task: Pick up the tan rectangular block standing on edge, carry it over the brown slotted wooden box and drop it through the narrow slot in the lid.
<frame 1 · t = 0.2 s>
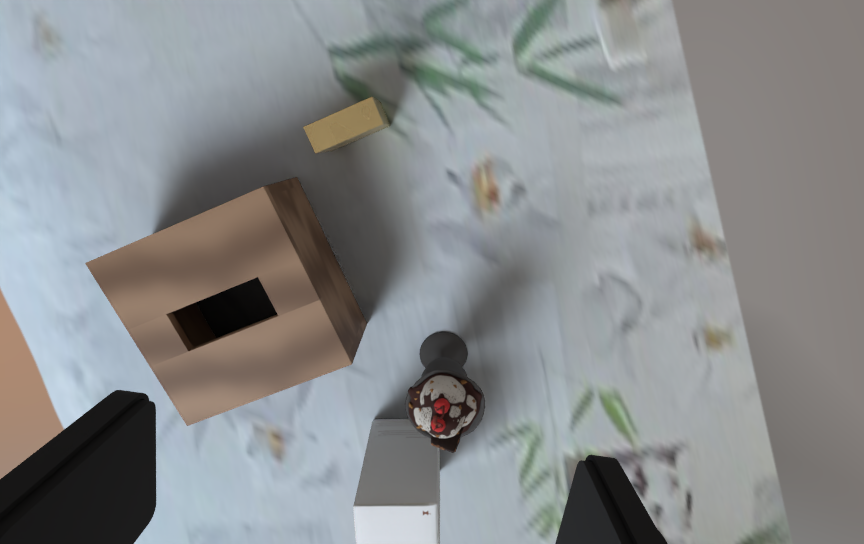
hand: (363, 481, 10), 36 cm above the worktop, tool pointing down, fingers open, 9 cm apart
brown slotted wooden box: (261, 282, 47), on the worktop
supplement box: (406, 445, 53), on the worktop
sundae: (442, 352, 49), on the worktop
tan rectangular block: (355, 127, 43), on the worktop
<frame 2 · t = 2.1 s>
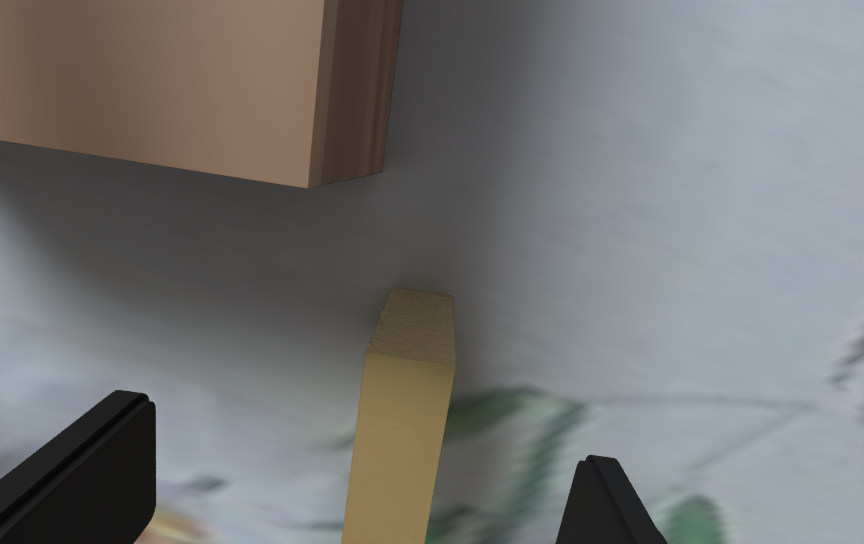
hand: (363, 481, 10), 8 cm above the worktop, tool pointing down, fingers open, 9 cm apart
tan rectangular block: (410, 366, 18), on the worktop
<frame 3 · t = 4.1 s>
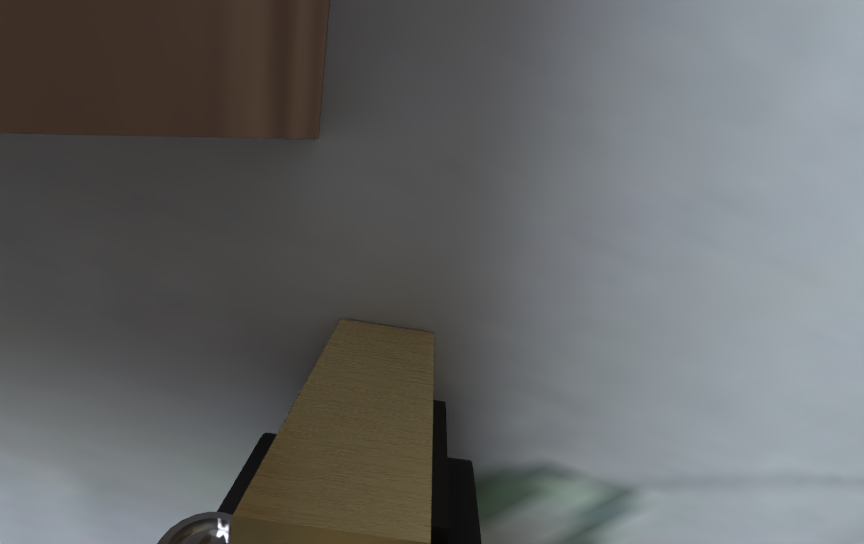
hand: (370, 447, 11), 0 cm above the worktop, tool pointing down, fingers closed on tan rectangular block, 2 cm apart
tan rectangular block: (371, 436, 12), on the worktop, touching gripper
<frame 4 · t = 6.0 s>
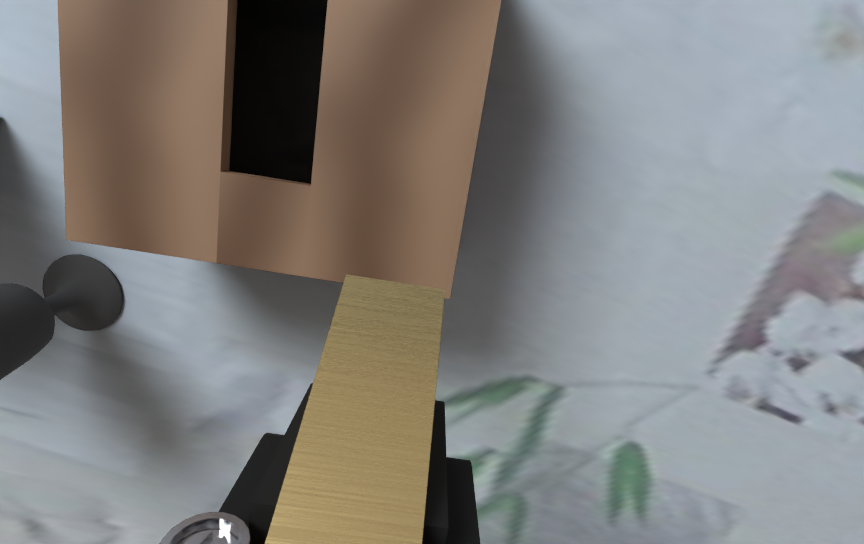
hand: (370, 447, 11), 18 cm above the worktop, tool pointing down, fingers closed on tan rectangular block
brown slotted wooden box: (329, 93, 26), on the worktop
sundae: (87, 291, 30), on the worktop
tan rectangular block: (387, 358, 13), point 16 cm above the worktop, tilted 31°, touching gripper
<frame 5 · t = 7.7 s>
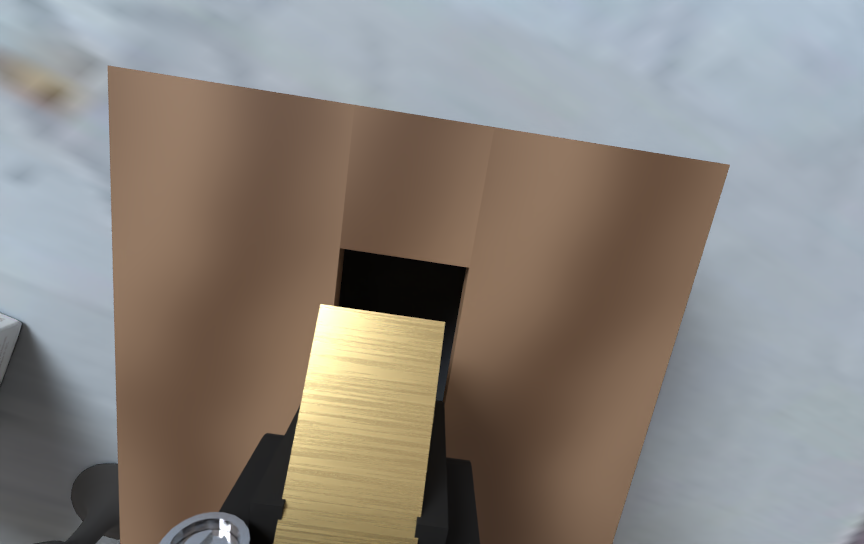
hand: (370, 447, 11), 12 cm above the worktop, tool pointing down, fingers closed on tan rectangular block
brown slotted wooden box: (405, 299, 23), on the worktop
sundae: (121, 497, 26), on the worktop
tan rectangular block: (386, 334, 11), point 11 cm above the worktop, tilted 60°, touching gripper
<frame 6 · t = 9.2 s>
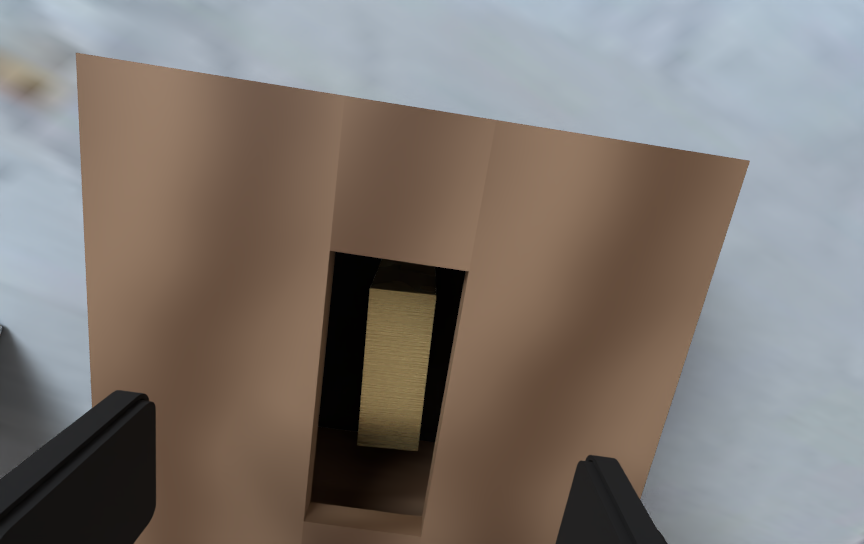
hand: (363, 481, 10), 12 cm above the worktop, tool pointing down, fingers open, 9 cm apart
brown slotted wooden box: (401, 301, 22), on the worktop
tan rectangular block: (407, 268, 18), point 3 cm above the worktop, tilted 90°
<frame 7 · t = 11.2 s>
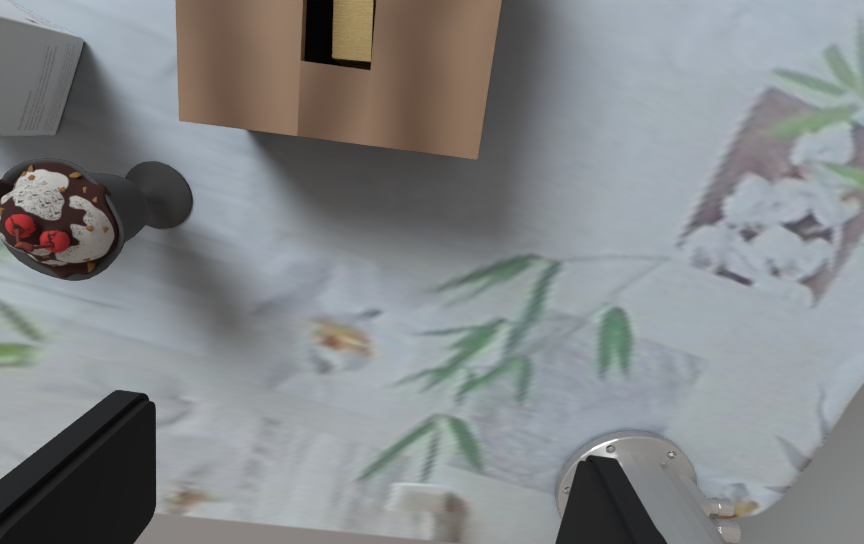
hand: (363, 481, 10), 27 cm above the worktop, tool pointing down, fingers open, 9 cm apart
brown slotted wooden box: (363, 13, 32), on the worktop
supplement box: (21, 62, 32), on the worktop
sundae: (160, 194, 35), on the worktop
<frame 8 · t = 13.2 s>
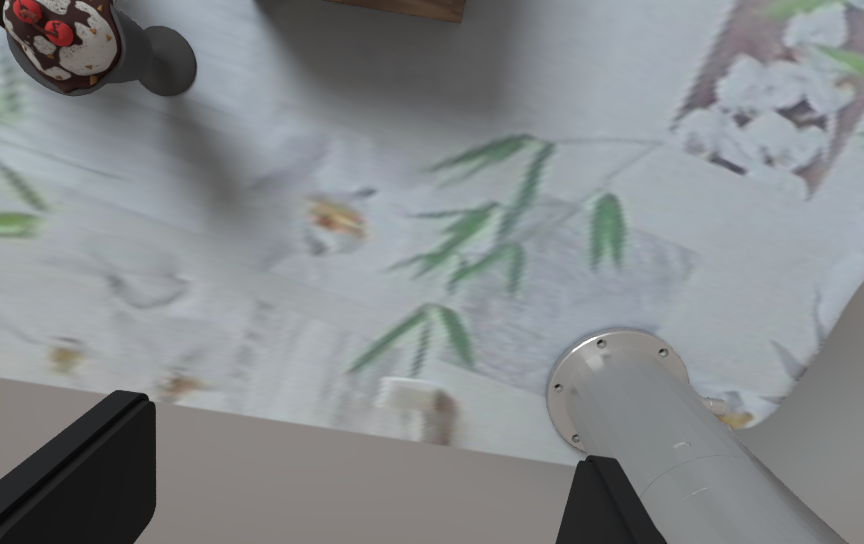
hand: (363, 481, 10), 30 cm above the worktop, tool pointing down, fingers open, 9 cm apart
sundae: (165, 61, 36), on the worktop
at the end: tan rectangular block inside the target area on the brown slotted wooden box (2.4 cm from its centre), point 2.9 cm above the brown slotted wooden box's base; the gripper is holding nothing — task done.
